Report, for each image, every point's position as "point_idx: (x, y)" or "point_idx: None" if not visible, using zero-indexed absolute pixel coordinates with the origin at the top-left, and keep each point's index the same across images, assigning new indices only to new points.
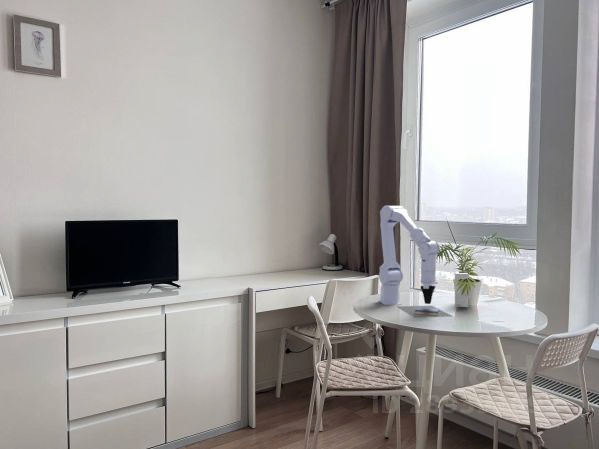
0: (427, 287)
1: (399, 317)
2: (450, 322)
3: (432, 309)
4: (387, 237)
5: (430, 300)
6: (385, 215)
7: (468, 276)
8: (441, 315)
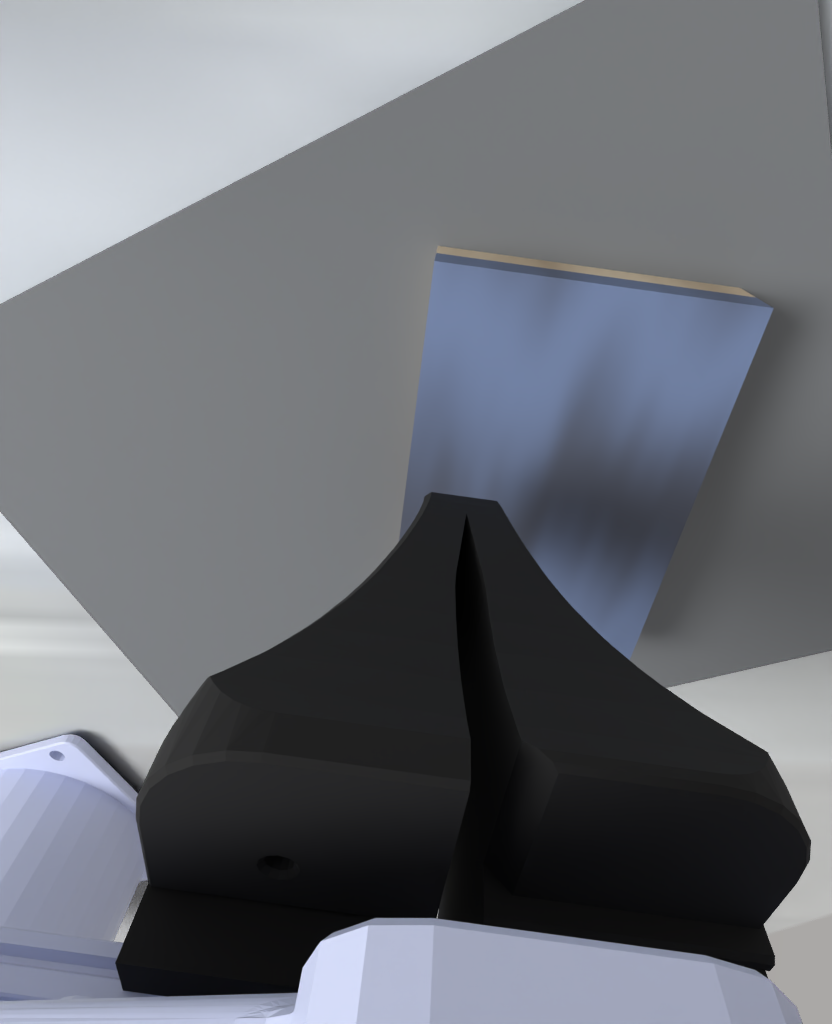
0: None
1: (798, 765)
2: None
3: (564, 412)
4: None
5: (518, 544)
6: None
7: None
8: (726, 210)
